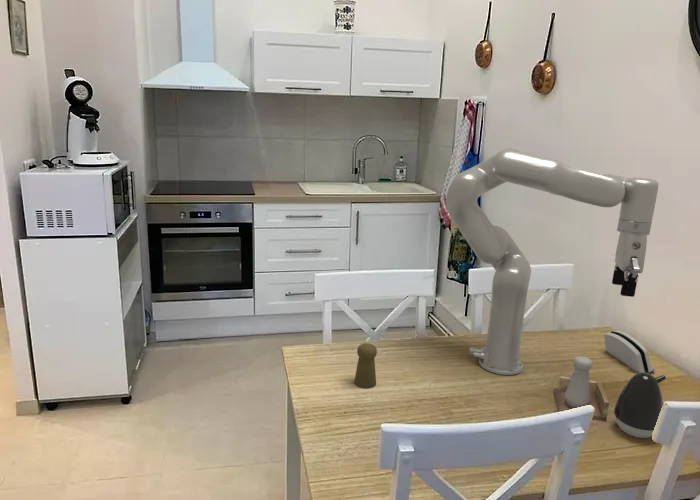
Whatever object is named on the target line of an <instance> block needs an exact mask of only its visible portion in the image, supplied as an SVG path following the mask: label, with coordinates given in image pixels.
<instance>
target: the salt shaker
mask: <svg viewBox="0 0 700 500" xmlns="http://www.w3.org/2000/svg"><path fill="white" fill-rule="evenodd" d="M573 367H574V371H573V373H572V375H571V377H570V378H571V380H570V383H569V385H568V387H567V390H566V392H565V398H566V402H567V405H568V406H570V407H571V408H577V407H581V406H585V405H587V404H588V403H589V401H590V395H589V380H590V370H592V368H593V361H592V360H591V359H590V358H589V357H587V356H581V355H580V356H579V355H578V356H576V357H574V358H573Z"/></svg>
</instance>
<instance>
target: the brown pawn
mask: <svg viewBox="0 0 700 500" xmlns="http://www.w3.org/2000/svg"><path fill="white" fill-rule="evenodd" d="M377 350H378V349H377V347H376V346H375V345H374V344H372V343H367V342H366V343H365V342H364V343H362V344H360V345H358V347H357V350H356V353H357V356H358V359H357V366H356V371H355V375H354V381H353V385H355V386H356V387H358V388H360V389H363V390H364V389H365V390H366V389H373V388H375V387H376V386H377V375H376V363H375V358H376V357H377V355H378V354H377V353H378V351H377Z"/></svg>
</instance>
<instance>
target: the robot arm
mask: <svg viewBox="0 0 700 500" xmlns="http://www.w3.org/2000/svg"><path fill="white" fill-rule="evenodd" d="M505 183H510V184H514V185H518V186H523V187H526V188H531V189H534V190H537V191H538V190H539V191H541V192H546V193H549V194H551V195H555V196H560V197H563V198H567V199H569V200H573V201H577V202H580V203H583V204H588V205H592V206H597V207H600V208H613V207H616V206H618V205H619V204H621V206H620V211H619V217H618V223H617V228H616V231H617V232H619V235H618V240H617V246H616V251H615V258H614V262H615V264H614V269H613V275H612V281H611V283H612V285H615V286H621V288H620V295H621V296H622V297H630V298H631V297H632V298H633V297H635V294H636V291H637V285H638V284H637V283H638V278H639V274H642V273H643V272H644V268H645V261H646V260H645V259H646V253H647V242H648V237H647V236H649V235H650V233H651V228H652V223H653V217H654V212H655V208H656V201H657V196H658V192H659V182H658V181H657V180H656V179H652V178H648V177H647V178H646V177H625V176H619V175H615V174H607V173H605V174H596V173H593V172H588V171H584V170H580V169H577V168H575V167H572V166H570V165H568V164H566V163H564V162H562V161H559V160H556V159H552V158H548V157H542V156H538V155H534V154H530V153H526V152H521V151H520V150H517V149H515V148H504V149H502V150H500V151H498V152H497V153H496V154H494V155H493V156H491V157H489V158H487V159H485V160H483V161H481V162H479V163H477V164H476V165H474V166H472V167H470V168H468V169H466V170H464V171H461V172H460V173H458V174H457V175H456V176H455V177H454V178H453V180H452V181H451V183H450V185H449V186H448V189H447V192H446V196H445V197H446V198H445V205H446V210H447V213H448V214H449V217H450V218H451V220H452V221H453V223H454V225H455V226H456V228H457V229H458V230H459V231H460V233H461V235H462V236H463V238H464V240H465V241H466V242H467V244H468V246H469V248H470V249H471V250H472V251H473V252H474V253H473V254H475V256H476V257H477V258H478V260H480V261H481V262H482V263H484V264H488V265H491V266H492V267H493V269H494V270H495V272H494V275H493V277H492V283H491V296H490V297H491V298H490V306H489V307H490V308H489V309H490V310H489V316H488V317H489V319H488V327H487V336H486V342H485V343H486V344H484V346H483V347H480V348H476V347H472V346H470V347H469V354H470V355H473V358H478V364H479V366H480V367H481V368H482V369H484V370H486V371H487V372H490V373H493V374H497V375H502V376H513V375H518V374H520V373H521V372H522V371H523V370H524V365H523V363H522V361H521V360H520V359H519V357H520V349H521V343H522V341H521V340H522V335H523V327H524V321H525V313H526V304H527V296H528V293H529V292H528V291H529V285H530V280H531V274H532V267H531V265H530V263H529V261H528V259H527V258H526V257H525V255H524V253H523V252H522V251H521V249H520V248H519V246H518V245H517V243H516V242H515V241H514V239H513V238H512V236H511V234H509V232H508V231H506V229H504V228H502V227H501V226H498V225H493V223H492V222H491V221H490V219H489V218H488V216H487V215H486V213H485V211H483V209H482V208H481V207H480V205H479V204H478V198H479V197H481V196H482V195H484V194H486V193H487V192H490V191H491V190H493V189H496V188H498V187H499V186H501V185H503V184H505Z"/></svg>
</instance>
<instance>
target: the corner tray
mask: <svg viewBox="0 0 700 500" xmlns="http://www.w3.org/2000/svg"><path fill="white" fill-rule="evenodd" d="M571 378H572V377H569V376H568V377H567V376H564V375H563V376H562V375H560V376H559V381H558V387H557V389H555V388H553V396H554V400H555V404H556V409H557V412H559V411H564V410H569V409H572V408H571V407H570V406H568V405H567V402H566V398H565V392H566V390H567V387H568V385H569V383H570V380H571ZM589 395H590V401H589V403H588V404H587V405H592V406H594V408H595V412H594V415H593V419H592V420H596V421H601V422H606V421H607V417H608V412H609V407H610V401H609V398H608V396H607V394H606V392H605V390H604V387H603V385H602V383H601V381H596V380H590V379H589Z"/></svg>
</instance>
